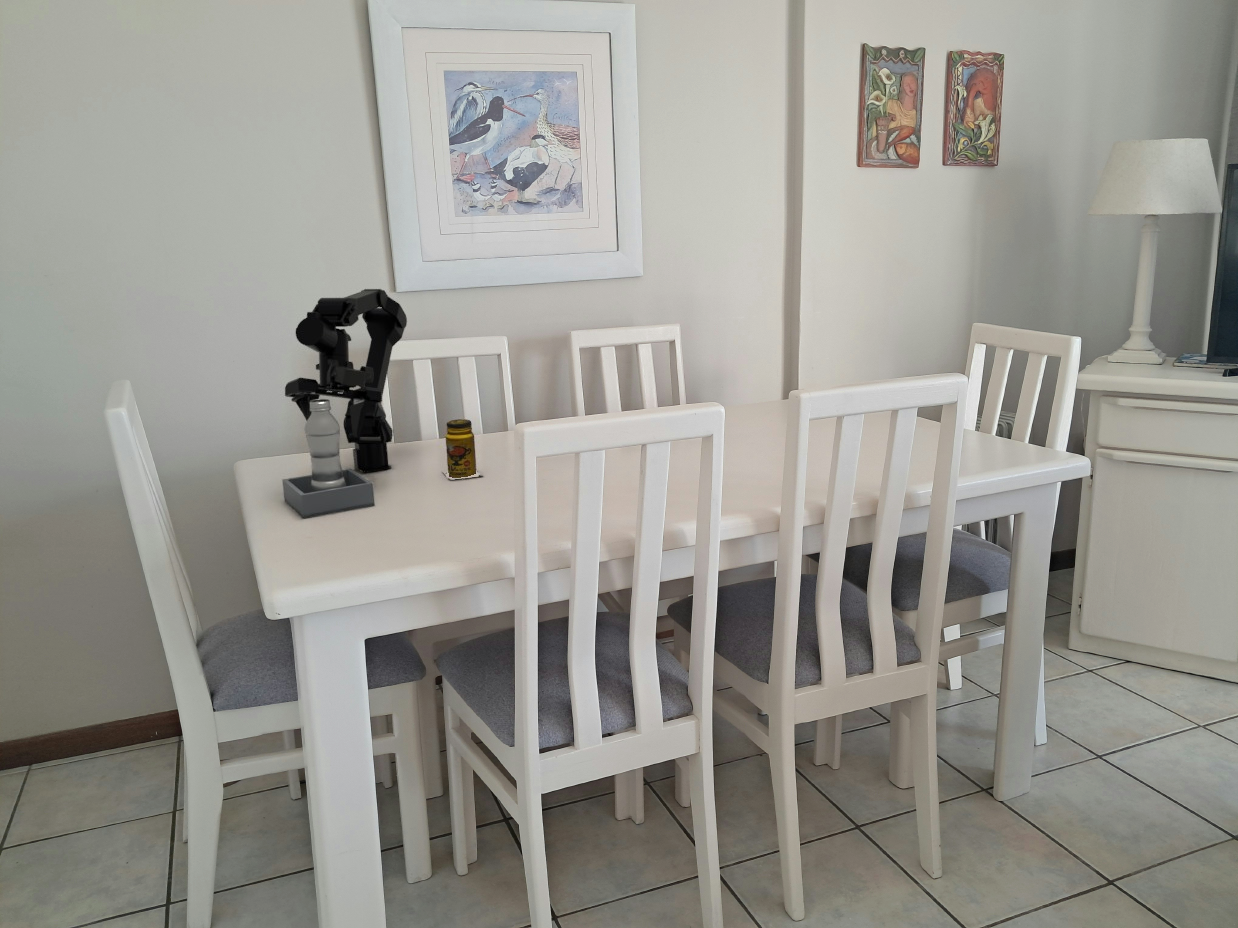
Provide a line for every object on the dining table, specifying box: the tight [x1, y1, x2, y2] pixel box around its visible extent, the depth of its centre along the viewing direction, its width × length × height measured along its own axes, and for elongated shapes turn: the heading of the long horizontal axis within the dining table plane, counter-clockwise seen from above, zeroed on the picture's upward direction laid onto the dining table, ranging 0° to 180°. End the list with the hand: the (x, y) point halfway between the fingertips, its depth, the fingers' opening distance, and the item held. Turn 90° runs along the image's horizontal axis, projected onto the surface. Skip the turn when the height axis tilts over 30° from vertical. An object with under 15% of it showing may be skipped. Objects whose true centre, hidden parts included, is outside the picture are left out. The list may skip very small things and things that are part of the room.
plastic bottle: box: [304, 398, 346, 492], centre depth 178 cm, size 6×7×20 cm
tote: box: [281, 468, 376, 519], centre depth 181 cm, size 14×14×4 cm
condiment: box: [445, 418, 477, 478], centre depth 199 cm, size 7×8×12 cm
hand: (336, 434), depth 184 cm, fingers open, 9 cm apart
